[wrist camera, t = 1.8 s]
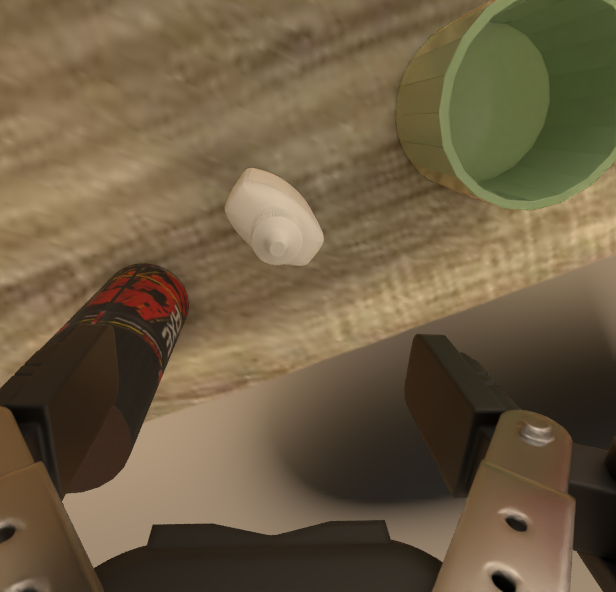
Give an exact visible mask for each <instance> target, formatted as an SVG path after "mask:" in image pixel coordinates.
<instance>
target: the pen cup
mask: <svg viewBox="0 0 616 592" xmlns="http://www.w3.org/2000/svg"><path fill="white" fill-rule="evenodd" d="M396 126H397V131H398V136H399V140H400V143H401V146H402V148H403V150H404V152H405V154H406V156H407V158H408V159H409V161H410V162H411V164H412V165H413V166H414V167H415V168H416V170H417V171H419V172H420V173H421V174H422V175H423V176H424V177H426V178H427V179H429V180H430V181H432V182H434V183H436V184H439V185H441V186H443V187H446V188H448V189H450V190H453V191H456V192H459V193H461V194H464V195H467V196H470V197H472V198H475V199H478V200H481V201H483V202H486V203H489V204H492V205H494V206H497V207H500V208H503V209H517V210H536V209H540V208H543V207H547V206H551V205H555V204H558V203H562V202H564V201H566V200H567V199H569V198H571V197H572V196H574V195H576V194H577V193H579V192H581V191H583V190H584V189H586V188H588V187H589V186H591V185H592V184H593V183H594V182H595V181H596V180H597V179H598V178H599V177H600V176H601V175H602V174H603V173H604V172H605V171H606V170H607V169H608V168H609V167H610V166H611V165H612V164H613V163H614V162H615V161H616V0H491V1H489V2H487V3H485V4H483V5H481V6H480V7H478V8H476V9H474V10H472V11H470V12H468V13H467V14H465V15H463V16H461V17H459V18H457V19H456V20H454V21H453V22H451V23H450V24H448V25H447V26H445V27H443V28H442V29H440V30H439V31H437V32H436V33H435V34H433V35H432V36H431V37H430V38H429V39H428V40H427V41H426V42H425V43H424V44H423V45H422V46H421V47H420V49H419V50H418V51H417V53H416V54H415V55H414V57H413V58H412V60H411V62H410V63H409V65H408V67H407V69H406V71H405V73H404V76H403V78H402V81H401V84H400V87H399V91H398V96H397V102H396Z"/></svg>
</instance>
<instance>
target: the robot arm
mask: <svg viewBox="0 0 616 592" xmlns="http://www.w3.org/2000/svg"><path fill="white" fill-rule="evenodd" d="M118 387H119V374H118V363H117V352H116V341H115V332H114V328H113V326H112V325H110V324H78V325H77V326H76V327H75V328H74V330H73V331H72V332H71V333H70V334H69V335H68V336H67V337H66V338H65V339H64V340H63V342H54V343H52V344H50V345H48V346H47V347H45V348H43V349H41V350H39V351H37V352H36V353H35V354H34V355H33V356H32V357H31V358H30V359H29V360H28V361H27V362H26V363H25V366H22V367H21V368H20V369H19V370H18V371H17V372H16V373H15V376H12V377H11V378H10V379H9V380H8V381H7V382H6V383H5V384H4V385H3V386H2V387H1V388H0V592H570V582H571V567H572V551H573V550H575V551H577V553H578V554H579V556H580V557H581V559H582V560H583V562H584V563H585V565H586V566H587V568H588V570H589V571H590V572H591V574H592V575H593V577H594V579H595V580H596V582H597V583H598V585H599V586H600V588H601V589H602V591H603V592H616V436H615V437H614V439H613V441H612V444H611V447H610V449H609V451H608V450H603V449H598V448H593V447H589V446H584V445H579V444H575V443H572V439H571V436H570V435H569V433H568V432H567V431H566V430H565V429H564V428H563V427H562V426H561V425H559V424H558V423H556V422H554V421H553V420H551V419H549V418H547V417H545V416H543V415H540V414H537V413H534V412H530V411H525V410H520V409H519V408H518V406H517V405H516V404H515V403H514V402H513V401H512V400H511V399H510V398H509V396H508V395H507V394H506V393H505V392H504V391H503V390H502V388H501V387H500V386H499V385H496V382H495V381H494V380H493V378H492V377H491V376H489V375H488V373H487V372H486V370H485V369H484V368H483V367H482V366H481V365H480V364H479V362H477V361H475V360H474V359H472V358H471V357H469V356H467V355H466V354H464V353H459V352H458V350H457V349H456V348H455V347H454V346H453V344H452V343H451V342H450V341H449V340H448V339H447V337H446V336H444V335H428V334H417V335H415V337H414V339H413V342H412V347H411V353H410V358H409V364H408V369H407V375H406V380H405V400H406V404H407V406H408V409H409V411H410V413H411V414H412V417H413V418H414V421H415V422H416V425H417V427H418V429H419V430H420V433H421V435H422V437H423V439H424V441H425V443H426V444H427V447H428V448H429V450H430V453H431V455H432V457H433V459H434V460H435V463H436V465H437V467H438V468H439V471H440V473H441V474H442V477H443V479H444V481H445V483H446V485H447V487H448V489H449V491H450V493H451V495H452V496H453V497H454V498H460V497H461V498H465V497H466V498H467V500H466V503H465V505H464V508H463V510H462V513H461V516H460V519H459V521H458V524H457V527H456V529H455V532H454V534H453V537H452V540H451V543H450V545H449V548H448V550H447V553H446V556H445V558H444V561H443V562H441V561H440V560H438V559H437V558H435V557H433V556H432V555H430V554H428V553H426V552H424V551H422V550H420V549H418V548H415V547H413V546H411V545H408V544H405V543H402V542H398V541H395V540H391V539H390V536H389V533H388V529H387V526H386V523H385V520H372V521H371V520H369V521H329V522H325V523H321V524H318V525H314V526H310V527H306V528H302V529H298V530H294V531H291V532H287V533H282V534H279V535H265V534H260V533H255V532H250V531H245V530H241V529H236V528H231V527H227V526H221V525H217V524H166V525H165V524H163V525H153V526H152V530H151V533H150V537H149V540H148V544H147V545H146V546H143V547H139V548H136V549H133V550H130V551H128V552H125V553H122V554H120V555H118V556H116V557H114V558H111V559H109V560H107V561H106V562H104V563H102V564H100V565H98V566H97V567H95V568H93V566H92V564H91V562H90V560H89V558H88V556H87V554H86V551H85V549H84V547H83V545H82V543H81V541H80V539H79V537H78V535H77V533H76V531H75V529H74V526H73V524H72V522H71V520H70V518H69V516H68V514H67V512H66V510H65V508H64V505H63V503H62V500H63V498H64V496H65V494H66V493H67V491H68V489H69V487H70V485H71V483H72V481H73V480H74V478H75V476H76V474H77V472H78V470H79V468H80V466H81V465H82V463H83V461H84V459H85V457H86V455H87V453H88V451H89V450H90V448H91V446H92V444H93V442H94V440H95V438H96V437H97V435H98V433H99V431H100V429H101V427H102V425H103V423H104V422H105V420H106V418H107V416H108V414H109V412H110V410H111V408H112V407H113V405H114V403H115V400H116V398H117V394H118Z"/></svg>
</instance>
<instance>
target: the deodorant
mask: <svg viewBox="0 0 616 592" xmlns="http://www.w3.org/2000/svg"><path fill="white" fill-rule="evenodd" d="M188 307H189V302H188V295H187V293H186V291H185V288H184V286H183V285H182V283H181V282H180V281H179V280H178V278H177V277H176V276H174V275H173V274H172V273H170V272H169V271H168V270H165V269H163V268H161V267H159V266H155V265H150V264H134V265H131V266H128V267H125V268H123V269H122V270H120V271H119V272H117V273H116V274H115V275H114V276H113V277H112V278H111V279H110V280H109V281H108V282H107V283H106V284H105V285H104V286H103V287H102V288H101V289H100V290H99V291H98V292H97V293H96V294H95V295H94V296H93V297H92V298H91V299H90V300H89V301H88V302H87V303H86V304H85V305H84V306H83V307H82V308H81V309H80V310H79V311H78V312H77V313H76V314H75V315H74V316H73V317H72V318H71V319H70V320H69V321H68V322H67V323H66V324H65V325H64V326H63V327H62V328H61V329H60V330H59V331H58V332H57V333H56V334H55V335H54V336H53V337H52V338H51V339H50V340H49V341H48V342H47V343H46V344H45V345H44V346H43V347H42V348H41V349H43V348H45V347H47V346H48V345H50V344H52V343H54V342H63V340H64V339H65V338H66V337H67V336H68V335H69V334H70V333H71V332H72V331H73V330H74V328H75V327H76V326H77V325H78V324H110V325H112V326H113V328H114V332H115V341H116V352H117V363H118V374H119V387H118V394H117V398H116V400H115V403H114V405H113V407H112V408H111V410H110V412H109V414H108V416H107V418H106V420H105V422H104V423H103V425H102V427H101V429H100V431H99V433H98V435H97V437H96V438H95V440H94V442H93V444H92V446H91V448H90V450H89V451H88V453H87V455H86V457H85V459H84V461H83V463H82V465H81V466H80V468H79V470H78V472H77V474H76V476H75V478H74V480H73V481H72V483H71V485H70V487H69V489H68V491H67V493H78V492H85V491H88V490H91V489H94V488H98V487H100V486H101V485H103V484H105V483H107V482H109V481H110V480H112V479H113V478H114V477H115V476H116V475H117V474H118V473H119V472H120V471H121V470H122V469H123V468H124V466H125V464H126V462H127V460H128V458H129V456H130V454H131V451H132V449H133V446H134V444H135V441H136V439H137V437H138V434H139V432H140V429H141V427H142V424H143V422H144V419H145V417H146V415H147V412H148V410H149V407H150V405H151V402H152V400H153V397H154V395H155V393H156V390H157V388H158V385H159V383H160V380H161V378H162V375H163V373H164V370H165V368H166V366H167V363H168V361H169V358H170V356H171V353H172V351H173V348H174V346H175V343H176V341H177V339H178V336H179V334H180V331H181V329H182V326H183V324H184V321H185V319H186V317H187V314H188ZM41 349H40V350H41ZM24 366H25V365H24ZM14 376H15V375H14ZM67 493H66V494H67Z"/></svg>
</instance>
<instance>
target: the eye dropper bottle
mask: <svg viewBox="0 0 616 592" xmlns="http://www.w3.org/2000/svg"><path fill="white" fill-rule="evenodd" d="M225 214H226V216H227V218H228V220H229V222H230V223H231V225H232V226H233V228H234V229H235V231H236V232H237V233H238V234H239V235H240V237H241V238H242V239H243V240H244V241H245V242H246V243H247V244H249V245H250V246H251V247H252V248H253V250H254V252H255V254H256V255H257V257H259V259H261V260H263V262H265V263H267V264H270V265H271V264H272V265H275V266H276V265H281V264H282V265H284V264H289V265H294V266H303V265H306V264H308V263H309V262H310V261H311V260H312V259H313V257H314V256H315V255H316V253H317V252H318V251H319V249H320V248H321V246H322V245H323V242H324V236H323V232H322V230H321V228H320V226H319V224H318V222H317V220H316V218H315V216H314V214H313V212H312V210H311V208H310V207H309V205H308V203H307V202H306V201H305V199H304V198H303V197H302V195H301V194H300V193H299V192H298V191H297V190H296V189H295V188H294V187H293V186H291V185H290V184H289V183H288V182H286V181H285V180H283V179H281V178H280V177H278V176H276V175H274V174H272V173H269V172H267V171H264V170H260V169H256V168H248V169H246V170H245V171H244V172H243V173H242V175H241V176H240V178H239V179H238V181H237V182H236V184H235V185H234V187H233V189H232V191H231V193H230V195H229V197H228V199H227V202H226V205H225Z"/></svg>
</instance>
